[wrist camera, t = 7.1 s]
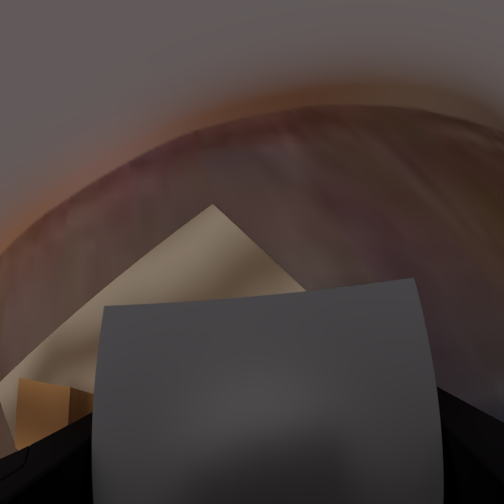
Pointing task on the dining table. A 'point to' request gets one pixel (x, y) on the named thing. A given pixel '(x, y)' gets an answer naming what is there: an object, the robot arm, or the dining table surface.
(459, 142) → the dining table surface
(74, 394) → the orange block
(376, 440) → the charcoal cover
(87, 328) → the birch board
